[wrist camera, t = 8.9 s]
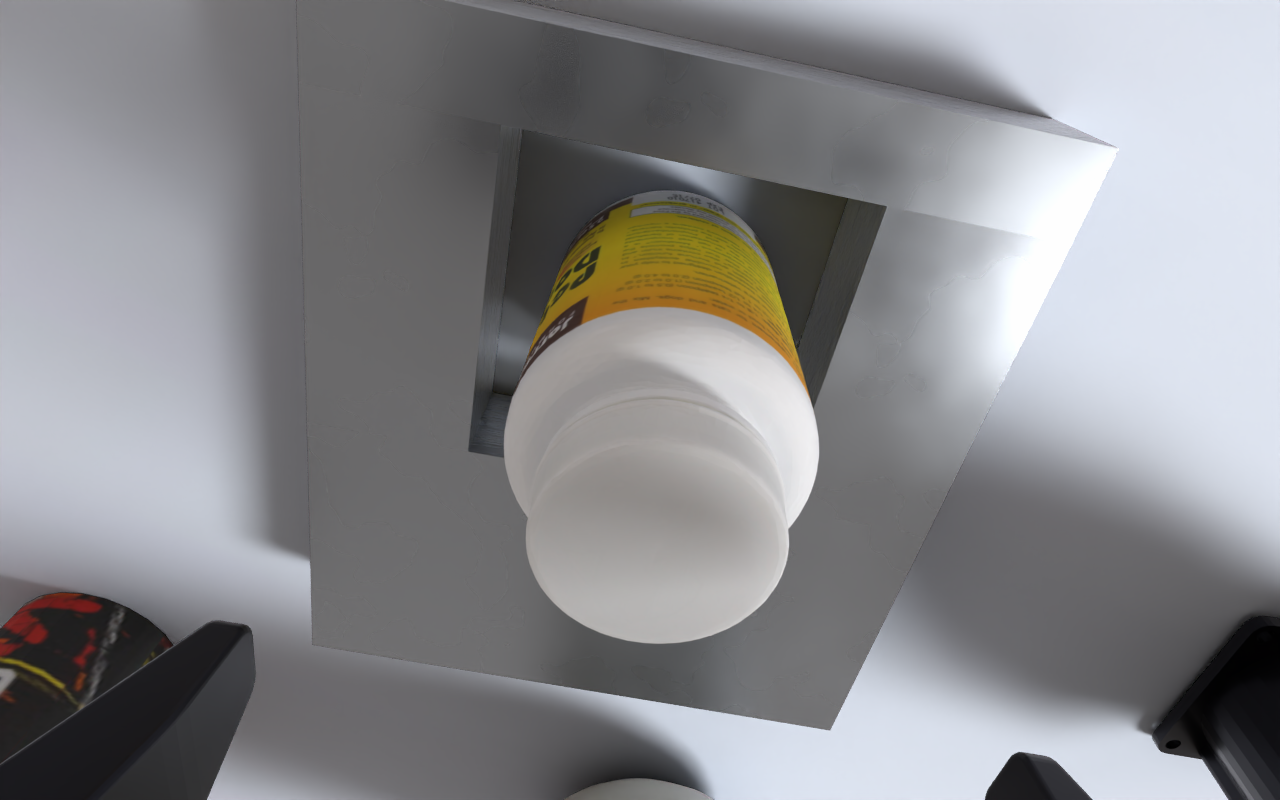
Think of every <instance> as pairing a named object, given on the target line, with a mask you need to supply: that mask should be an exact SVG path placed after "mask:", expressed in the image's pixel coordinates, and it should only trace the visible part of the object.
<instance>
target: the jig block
mask: <svg viewBox="0 0 1280 800" xmlns="http://www.w3.org/2000/svg"><path fill="white" fill-rule="evenodd" d="M296 11H297V50H298V90H299V130H300V169H301V209H302V249H303V289H304V328H305V368H306V408H307V448H308V487H309V527H310V567H311V607H312V645H316V646H322V647H328V648H334V649H340V650H346V651H352V652H358V653H364V654H371V655H377V656H383V657H389V658H395V659H401V660H407V661H413V662H419V663H425V664H431V665H437V666H443V667H449V668H455V669H461V670H467V671H474V672H480V673H486V674H492V675H498V676H504V677H510V678H516V679H522V680H528V681H534V682H540V683H546V684H552V685H558V686H564V687H571V688H577V689H583V690H589V691H595V692H601V693H607V694H613V695H619V696H625V697H631V698H637V699H643V700H649V701H655V702H661V703H668V704H674V705H680V706H686V707H692V708H698V709H704V710H710V711H716V712H722V713H728V714H734V715H740V716H746V717H752V718H758V719H765V720H771V721H777V722H783V723H789V724H795V725H801V726H807V727H813V728H819V729H825V730H830V729H831V727H832V725H833V723H834V721H835V719H836V717H837V715H838V713H839V711H840V709H841V707H842V705H843V703H844V701H845V699H846V697H847V695H848V693H849V691H850V689H851V687H852V685H853V683H854V681H855V679H856V677H857V675H858V673H859V671H860V669H861V667H862V665H863V663H864V661H865V659H866V657H867V655H868V653H869V651H870V649H871V647H872V645H873V643H874V641H875V639H876V637H877V635H878V633H879V631H880V629H881V627H882V625H883V623H884V621H885V619H886V617H887V615H888V613H889V611H890V609H891V607H892V605H893V603H894V601H895V599H896V597H897V595H898V593H899V591H900V589H901V587H902V585H903V583H904V581H905V578H906V576H907V574H908V572H909V570H910V568H911V566H912V564H913V562H914V560H915V558H916V556H917V554H918V552H919V550H920V548H921V546H922V544H923V542H924V540H925V538H926V536H927V534H928V532H929V530H930V528H931V526H932V524H933V522H934V520H935V518H936V516H937V514H938V512H939V510H940V508H941V506H942V504H943V502H944V500H945V498H946V496H947V494H948V492H949V490H950V488H951V486H952V484H953V482H954V480H955V478H956V476H957V474H958V472H959V470H960V468H961V466H962V464H963V462H964V460H965V458H966V456H967V454H968V452H969V450H970V448H971V446H972V444H973V442H974V440H975V438H976V436H977V434H978V432H979V430H980V428H981V426H982V424H983V422H984V420H985V418H986V416H987V414H988V412H989V409H990V407H991V405H992V403H993V401H994V399H995V397H996V395H997V393H998V391H999V389H1000V387H1001V385H1002V383H1003V381H1004V379H1005V377H1006V375H1007V373H1008V371H1009V369H1010V367H1011V365H1012V363H1013V361H1014V359H1015V357H1016V355H1017V353H1018V351H1019V349H1020V347H1021V345H1022V343H1023V341H1024V339H1025V337H1026V335H1027V333H1028V331H1029V329H1030V327H1031V325H1032V323H1033V321H1034V319H1035V317H1036V315H1037V313H1038V311H1039V309H1040V307H1041V305H1042V303H1043V301H1044V299H1045V297H1046V295H1047V293H1048V291H1049V289H1050V287H1051V285H1052V283H1053V281H1054V279H1055V277H1056V275H1057V273H1058V271H1059V269H1060V267H1061V265H1062V263H1063V261H1064V259H1065V257H1066V255H1067V253H1068V251H1069V249H1070V247H1071V245H1072V242H1073V240H1074V238H1075V236H1076V234H1077V232H1078V230H1079V228H1080V226H1081V224H1082V222H1083V220H1084V218H1085V216H1086V214H1087V212H1088V210H1089V208H1090V206H1091V204H1092V202H1093V200H1094V198H1095V196H1096V194H1097V192H1098V190H1099V188H1100V186H1101V184H1102V182H1103V180H1104V178H1105V176H1106V174H1107V172H1108V170H1109V168H1110V166H1111V164H1112V162H1113V160H1114V158H1115V156H1116V154H1117V152H1118V150H1119V148H1117V147H1115V146H1112V145H1110V144H1108V143H1106V142H1104V141H1101V140H1099V139H1097V138H1095V137H1092V136H1090V135H1088V134H1086V133H1083V132H1081V131H1079V130H1077V129H1075V128H1072V127H1070V126H1068V125H1066V124H1063V123H1061V122H1059V121H1057V120H1054V119H1050V118H1045V117H1041V116H1036V115H1032V114H1027V113H1023V112H1018V111H1014V110H1009V109H1005V108H1000V107H996V106H991V105H987V104H982V103H978V102H973V101H968V100H964V99H959V98H955V97H950V96H946V95H941V94H937V93H932V92H928V91H923V90H919V89H914V88H910V87H905V86H901V85H896V84H892V83H887V82H882V81H878V80H873V79H869V78H864V77H860V76H855V75H851V74H846V73H842V72H837V71H833V70H828V69H824V68H819V67H815V66H810V65H805V64H801V63H796V62H792V61H787V60H783V59H778V58H774V57H769V56H765V55H760V54H756V53H751V52H747V51H742V50H738V49H733V48H729V47H724V46H719V45H715V44H710V43H706V42H701V41H697V40H692V39H688V38H683V37H679V36H674V35H670V34H665V33H661V32H656V31H652V30H647V29H643V28H638V27H633V26H629V25H624V24H620V23H615V22H611V21H606V20H602V19H597V18H593V17H588V16H584V15H579V14H575V13H570V12H566V11H561V10H557V9H552V8H547V7H543V6H538V5H534V4H529V3H525V2H520V1H516V0H296ZM523 130H527V131H532V132H537V133H541V134H546V135H551V136H556V137H560V138H565V139H570V140H575V141H580V142H584V143H589V144H594V145H599V146H603V147H608V148H613V149H618V150H622V151H627V152H632V153H637V154H641V155H646V156H651V157H656V158H660V159H665V160H670V161H675V162H679V163H684V164H689V165H694V166H698V167H703V168H708V169H713V170H717V171H722V172H727V173H732V174H736V175H741V176H746V177H751V178H755V179H760V180H765V181H770V182H774V183H779V184H784V185H789V186H793V187H798V188H803V189H808V190H812V191H817V192H822V193H827V194H831V195H836V196H841V197H846V198H848V201H847V204H846V207H845V210H844V213H843V216H842V219H841V222H840V225H839V227H838V230H837V233H836V236H835V239H834V242H833V245H832V248H831V251H830V254H829V257H828V260H827V263H826V266H825V269H824V272H823V275H822V278H821V281H820V284H819V287H818V290H817V293H816V296H815V299H814V302H813V305H812V308H811V311H810V314H809V317H808V320H807V323H806V326H805V329H804V332H803V335H802V338H801V341H800V344H799V347H798V350H797V355H798V359H799V362H800V365H801V369H802V372H803V376H804V380H805V383H806V387H807V390H808V393H809V396H810V400H811V403H812V407H813V410H814V415H815V419H816V424H817V430H818V436H819V461H818V467H817V473H816V477H815V481H814V484H813V488H812V490H811V493H810V495H809V498H808V500H807V502H806V504H805V505H804V507H803V509H802V511H801V512H800V514H799V516H798V517H797V519H796V520H795V521H794V523H793V524H792V525H791V527H790V528H789V529H788V534H789V550H788V557H787V562H786V566H785V568H784V571H783V574H782V576H781V578H780V580H779V582H778V584H777V586H776V587H775V589H774V590H773V592H772V593H771V594H770V596H769V597H768V598H767V600H766V601H765V602H764V603H763V604H762V605H761V606H760V607H759V608H758V609H756V610H755V611H754V612H753V613H752V614H750V615H749V616H748V617H746V618H745V619H743V620H742V621H740V622H739V623H738V624H736V625H734V626H732V627H730V628H728V629H726V630H724V631H721V632H719V633H716V634H714V635H711V636H708V637H704V638H700V639H696V640H692V641H687V642H679V643H664V644H655V643H640V642H633V641H626V640H623V639H619V638H615V637H611V636H608V635H605V634H602V633H600V632H597V631H595V630H593V629H591V628H588V627H586V626H584V625H583V624H581V623H579V622H578V621H576V620H574V619H573V618H571V617H570V616H568V615H567V614H565V613H564V612H563V611H562V610H561V609H560V608H559V607H557V606H556V605H555V604H554V603H553V602H552V601H551V600H550V598H549V597H548V596H547V595H546V593H545V592H544V591H543V590H542V588H541V587H540V585H539V583H538V582H537V580H536V578H535V576H534V574H533V571H532V569H531V566H530V564H529V560H528V556H527V550H526V525H527V520H528V517H527V516H526V514H525V513H524V511H523V510H522V508H521V507H520V505H519V503H518V501H517V500H516V497H515V495H514V493H513V490H512V488H511V485H510V482H509V478H508V475H507V471H506V466H505V460H504V431H505V426H506V420H507V416H508V412H509V407H510V404H511V400H512V397H513V396H508V395H503V394H498V393H492V391H493V382H494V373H495V365H496V356H497V347H498V339H499V330H500V321H501V313H502V304H503V295H504V287H505V278H506V269H507V261H508V252H509V243H510V235H511V226H512V217H513V209H514V200H515V191H516V183H517V174H518V165H519V157H520V148H521V139H522V131H523Z"/></svg>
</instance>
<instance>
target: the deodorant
mask: <svg viewBox="0 0 1280 800" xmlns="http://www.w3.org/2000/svg"><path fill="white" fill-rule="evenodd" d="M172 646H173V645H172V644H171V642H170V641H169V640H168V638H167V637H166V635H165V634H164V633H162V632H161V631H160V630H159V629H158V628H157V627H156V626H154V625H153V624H152V623H151V622H150V621H149V620H147V619H145V618H144V617H142V616H140V615H139V614H137V613H135V612H134V611H132V610H131V609H129V608H126V607H124V606H122V605H119V604H117V603H114V602H112V601H109V600H107V599H103V598H99V597H94V596H90V595H86V594H77V593H55V594H49V595H43V596H40V597H38V598H36V599H34V600H31V601H29V602H27V603H26V604H25V605H24V606H23V607H22V608H21V609H20V610H19V611H18V612H17V613H16V614H15V615H14V616H13V617H12V618H11V619H10V620H9V621H8V622H7V623H6V624H5V625H4V626H3V627H2V628H1V629H0V764H1V763H2V762H4V761H5V760H7V759H8V758H10V757H11V756H13V755H14V754H15V753H17V752H18V751H20V750H21V749H23V748H24V747H26V746H27V745H29V744H30V743H32V742H33V741H35V740H36V739H37V738H39V737H40V736H42V735H43V734H45V733H46V732H48V731H49V730H51V729H52V728H54V727H55V726H57V725H58V724H59V723H61V722H62V721H64V720H65V719H67V718H68V717H70V716H71V715H73V714H74V713H76V712H77V711H79V710H80V709H81V708H83V707H84V706H86V705H87V704H89V703H90V702H92V701H93V700H95V699H96V698H98V697H99V696H100V695H102V694H103V693H105V692H106V691H108V690H109V689H111V688H112V687H114V686H115V685H117V684H118V683H120V682H121V681H122V680H124V679H125V678H127V677H128V676H130V675H131V674H133V673H134V672H136V671H137V670H139V669H140V668H142V667H143V666H144V665H146V664H147V663H149V662H150V661H152V660H153V659H155V658H156V657H158V656H159V655H161V654H162V653H164V652H165V651H166V650H168V649H169V648H171V647H172Z"/></svg>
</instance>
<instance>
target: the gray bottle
mask: <svg viewBox="0 0 1280 800" xmlns="http://www.w3.org/2000/svg"><path fill="white" fill-rule="evenodd" d="M563 800H714V799H712V798H710V797H709V796H707V795H705V794H704V793H702V792H700V791H697V790H695V789H692V788H689V787H685V786H681V785H678V784H674V783H670V782H665V781H661V780H655V779H645V778H630V779H620V780H614V781H609V782H605V783H600V784H596V785H593V786H590V787H587V788H585V789H583V790H581V791H579V792H577V793H574V794H572V795H570V796H568V797H567V798H565V799H563Z"/></svg>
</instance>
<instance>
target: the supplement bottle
mask: <svg viewBox="0 0 1280 800" xmlns="http://www.w3.org/2000/svg"><path fill="white" fill-rule="evenodd" d="M504 460H505V466H506V471H507V475H508V478H509V482H510V485H511V488H512V490H513V493H514V495H515V497H516V500H517V501H518V503H519V505H520V507H521V508H522V510H523V511H524V513H525V514H526V516H527V517H528V520H527V525H526V550H527V556H528V560H529V564H530V566H531V569H532V571H533V574H534V576H535V578H536V580H537V582H538V583H539V585H540V587H541V588H542V590H543V591H544V592H545V593H546V595H547V596H548V597H549V598H550V600H551V601H552V602H553V603H554V604H555V605H556V606H557V607H559V608H560V609H561V610H562V611H563V612H564V613H565V614H567V615H568V616H570V617H571V618H573V619H574V620H576V621H578V622H579V623H581V624H583V625H584V626H586V627H588V628H591V629H593V630H595V631H597V632H600V633H602V634H605V635H608V636H611V637H615V638H619V639H623V640H626V641H633V642H640V643H655V644H664V643H679V642H687V641H692V640H696V639H700V638H704V637H708V636H711V635H714V634H716V633H719V632H721V631H724V630H726V629H728V628H730V627H732V626H734V625H736V624H738V623H739V622H740V621H742V620H743V619H745V618H746V617H748V616H749V615H750V614H752V613H753V612H754V611H755V610H756V609H758V608H759V607H760V606H761V605H762V604H763V603H764V602H765V601H766V600H767V598H768V597H769V596H770V594H771V593H772V592H773V590H774V589H775V587H776V586H777V584H778V582H779V580H780V578H781V576H782V574H783V571H784V568H785V566H786V562H787V557H788V550H789V534H788V529H789V528H790V527H791V525H792V524H793V523H794V521H795V520H796V519H797V517H798V516H799V514H800V512H801V511H802V509H803V507H804V505H805V504H806V502H807V500H808V498H809V495H810V493H811V490H812V488H813V484H814V481H815V477H816V473H817V467H818V461H819V436H818V430H817V424H816V419H815V415H814V410H813V407H812V403H811V400H810V396H809V393H808V390H807V387H806V383H805V380H804V376H803V372H802V369H801V365H800V362H799V359H798V355H797V352H796V349H795V345H794V342H793V338H792V335H791V331H790V328H789V325H788V321H787V318H786V315H785V311H784V308H783V304H782V301H781V298H780V295H779V291H778V287H777V284H776V280H775V276H774V273H773V270H772V267H771V264H770V261H769V259H768V256H767V254H766V251H765V249H764V247H763V245H762V243H761V242H760V240H759V238H758V237H757V236H756V234H755V233H754V232H753V230H752V229H751V228H750V227H749V226H748V225H747V224H746V223H745V222H744V221H743V220H742V219H741V218H740V217H739V216H738V215H736V214H735V213H734V212H733V211H731V210H730V209H728V208H727V207H725V206H723V205H722V204H720V203H718V202H716V201H714V200H711V199H709V198H706V197H704V196H700V195H697V194H693V193H688V192H683V191H669V190H663V191H651V192H644V193H640V194H636V195H633V196H630V197H627V198H624V199H622V200H619V201H617V202H615V203H613V204H612V205H610V206H608V207H606V208H605V209H603V210H602V211H601V212H599V213H598V214H596V215H595V216H594V217H593V218H592V219H591V220H590V221H589V222H588V223H587V224H586V225H585V226H584V227H583V228H582V229H581V230H580V232H579V233H578V234H577V236H576V237H575V239H574V240H573V242H572V244H571V245H570V247H569V249H568V251H567V253H566V255H565V257H564V260H563V262H562V264H561V267H560V269H559V272H558V275H557V278H556V281H555V284H554V286H553V289H552V292H551V294H550V297H549V300H548V303H547V305H546V308H545V310H544V313H543V316H542V319H541V322H540V324H539V327H538V329H537V332H536V335H535V337H534V339H533V343H532V345H531V347H530V351H529V354H528V356H527V359H526V362H525V365H524V367H523V370H522V373H521V376H520V379H519V381H518V383H517V385H516V388H515V391H514V393H513V397H512V400H511V404H510V407H509V412H508V416H507V420H506V426H505V431H504Z"/></svg>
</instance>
